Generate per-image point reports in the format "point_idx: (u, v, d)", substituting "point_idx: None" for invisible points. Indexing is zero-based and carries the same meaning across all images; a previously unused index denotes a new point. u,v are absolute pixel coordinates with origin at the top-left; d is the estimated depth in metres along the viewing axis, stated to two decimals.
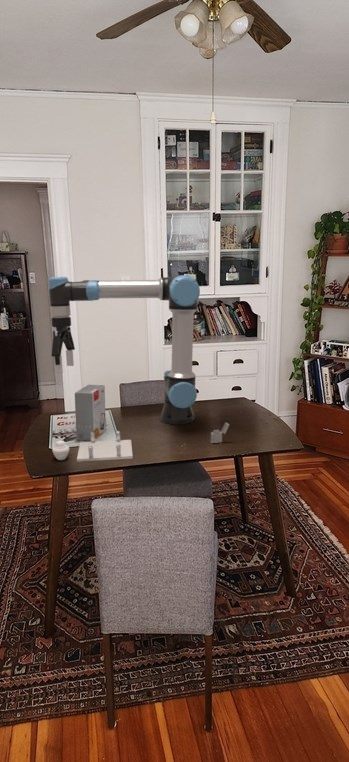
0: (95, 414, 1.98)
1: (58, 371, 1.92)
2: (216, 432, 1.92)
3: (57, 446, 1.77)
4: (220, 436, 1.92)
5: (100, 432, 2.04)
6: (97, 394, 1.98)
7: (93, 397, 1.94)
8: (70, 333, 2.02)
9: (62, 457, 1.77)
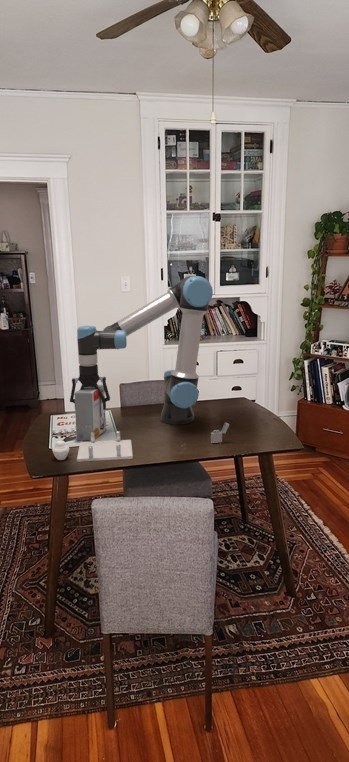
0: (95, 414, 1.98)
1: None
2: (216, 432, 1.92)
3: (57, 446, 1.77)
4: (220, 436, 1.92)
5: (100, 432, 2.04)
6: (96, 393, 1.98)
7: (93, 397, 1.94)
8: (104, 384, 1.99)
9: (62, 457, 1.77)
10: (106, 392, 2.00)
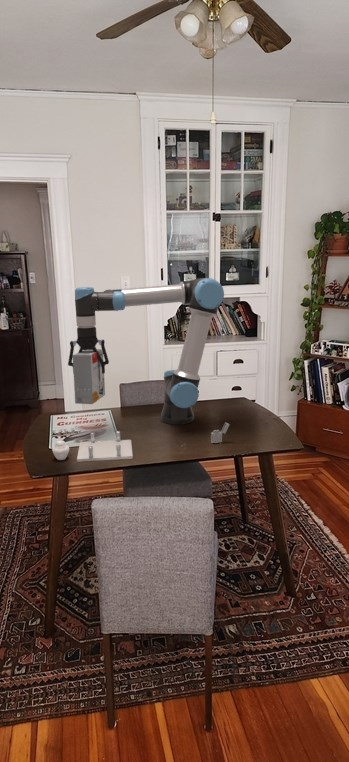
0: (94, 377, 1.94)
1: None
2: (216, 432, 1.92)
3: (57, 446, 1.77)
4: (220, 436, 1.92)
5: (99, 396, 2.01)
6: (95, 356, 1.95)
7: (91, 359, 1.91)
8: (102, 347, 1.96)
9: (62, 457, 1.77)
10: (105, 355, 1.97)
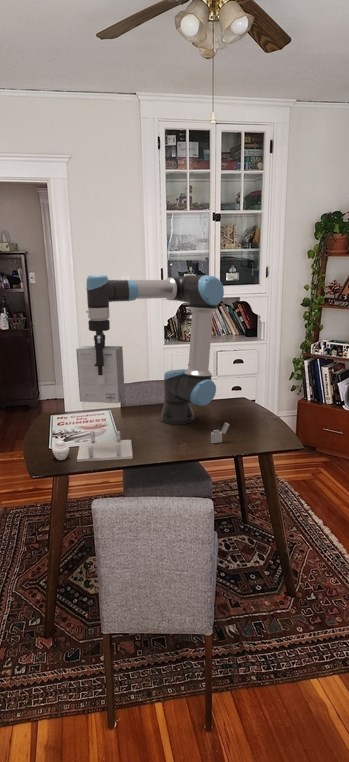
0: None
1: (100, 382, 1.75)
2: (216, 432, 1.92)
3: (57, 446, 1.77)
4: (220, 436, 1.92)
5: None
6: None
7: None
8: None
9: (62, 457, 1.77)
10: None
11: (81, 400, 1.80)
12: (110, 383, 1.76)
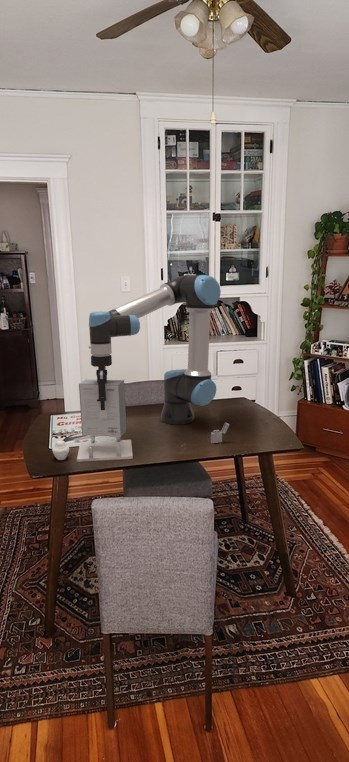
0: None
1: (102, 416, 1.77)
2: (216, 432, 1.92)
3: (57, 446, 1.77)
4: (220, 436, 1.92)
5: None
6: None
7: None
8: None
9: (62, 457, 1.77)
10: None
11: (83, 433, 1.82)
12: (112, 418, 1.78)
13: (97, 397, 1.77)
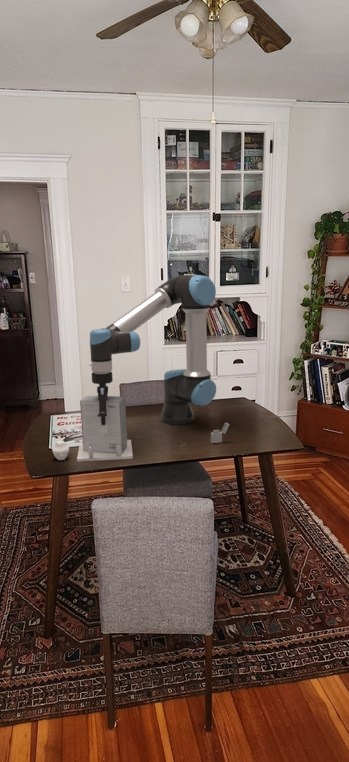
0: None
1: (103, 431, 1.77)
2: (216, 432, 1.92)
3: (57, 446, 1.77)
4: (220, 436, 1.92)
5: None
6: None
7: None
8: None
9: (62, 457, 1.77)
10: None
11: (84, 449, 1.83)
12: (113, 434, 1.80)
13: None
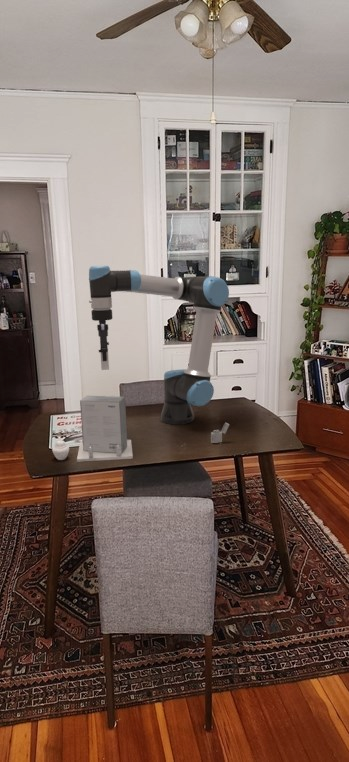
0: None
1: (104, 368, 1.77)
2: (216, 432, 1.92)
3: (57, 446, 1.77)
4: (220, 436, 1.92)
5: None
6: None
7: None
8: None
9: (62, 457, 1.77)
10: None
11: (84, 449, 1.83)
12: (113, 434, 1.80)
13: (98, 414, 1.79)
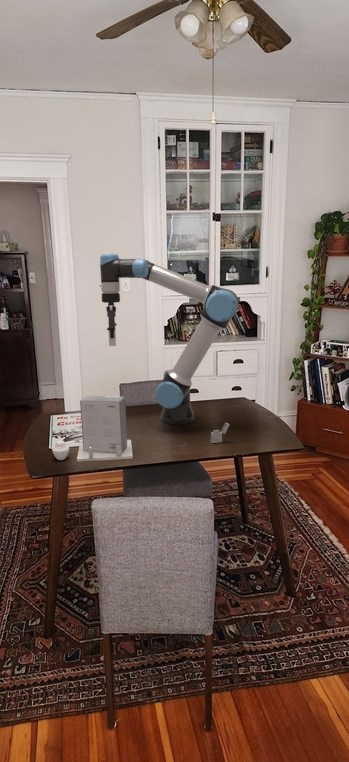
0: None
1: (112, 344, 2.00)
2: (216, 432, 1.92)
3: (57, 446, 1.77)
4: (220, 436, 1.92)
5: None
6: None
7: None
8: None
9: (62, 457, 1.77)
10: None
11: (84, 449, 1.83)
12: (113, 434, 1.80)
13: (98, 414, 1.79)
